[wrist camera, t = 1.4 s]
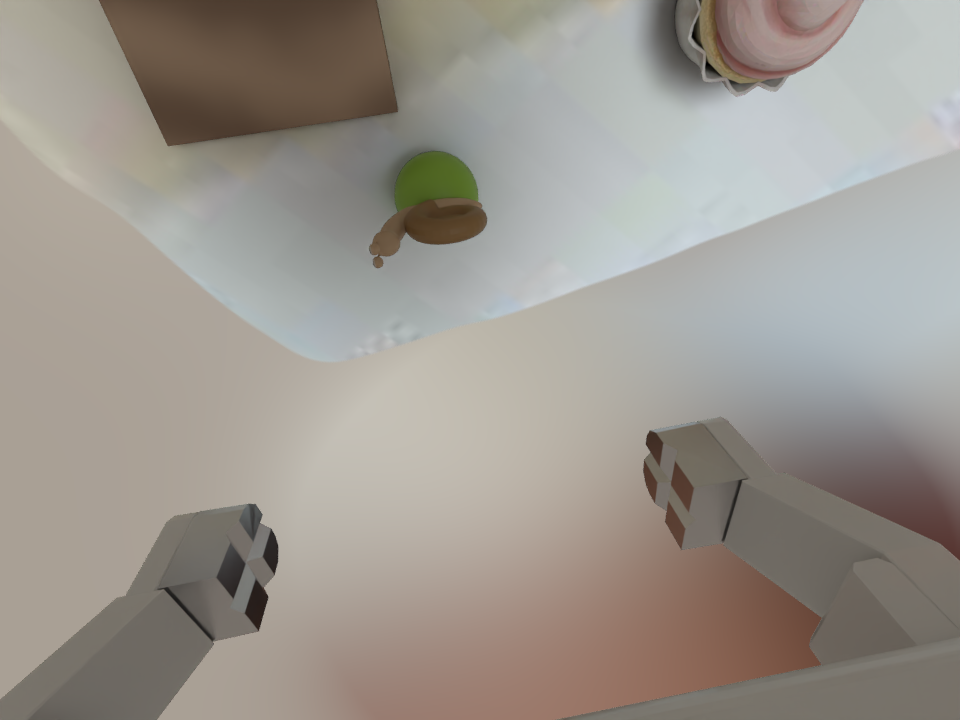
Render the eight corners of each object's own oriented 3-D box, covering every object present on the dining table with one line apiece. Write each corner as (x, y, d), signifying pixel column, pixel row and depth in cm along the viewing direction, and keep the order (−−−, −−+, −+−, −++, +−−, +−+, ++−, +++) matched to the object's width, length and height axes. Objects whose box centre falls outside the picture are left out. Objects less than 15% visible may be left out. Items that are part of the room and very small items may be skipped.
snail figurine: (372, 154, 30) (353, 201, 20) (467, 138, 30) (494, 178, 20) (392, 233, 33) (384, 308, 23) (477, 218, 33) (506, 287, 23)
